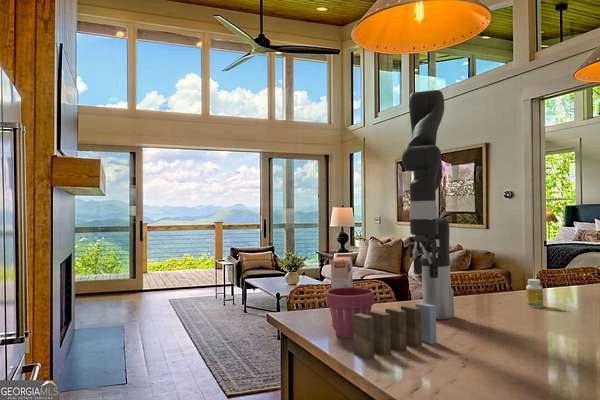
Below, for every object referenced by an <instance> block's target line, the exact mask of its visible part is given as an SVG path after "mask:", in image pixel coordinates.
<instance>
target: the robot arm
mask: <svg viewBox="0 0 600 400" xmlns="http://www.w3.org/2000/svg"><path fill="white" fill-rule="evenodd" d="M408 110H409V120H410V128H411V140H410V141H409V142H408V143H407V145H406V146H405V147H404V149H403V151H402V156H401V164H402V166H403V168H404V169H405V170H406V171H408V172H412V173H413V179H414V180H412V181H411V182H410V184H409V228H410V229H409V232H410V235H411V236H412V237H411V236H410V237H408V257H409V258H411V259H412V261H413V273H414V274H415V275H421V280H422V281H421V283H422V285H421V287H422V288H421V289H422V290H421V292H422V303H425V304H430V305H435V311H436V320H448V319H449V320H450V319H451V318H452V319H453V318H455V302H454V288H452V286H451V285H452V284H451V283H452V282H451V261H450V260H451V259H450V257H451V256H450V222H449V220H448V218H446V217H439V214H438V211H439V210H438V205H437V190H438V188H439V187H440V185H441V183H442V180H443V161H442V160H443V159H442V151H441V150H440V148H439V147H438V146H437V137H438V130H439V126H440V125H441V123H442V119H443V117H444V113H445V97H444V94H443V92H442V91H441V90H439V89H433V90H422V91H415V92H411V93H410V95H409V98H408Z"/></svg>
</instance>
